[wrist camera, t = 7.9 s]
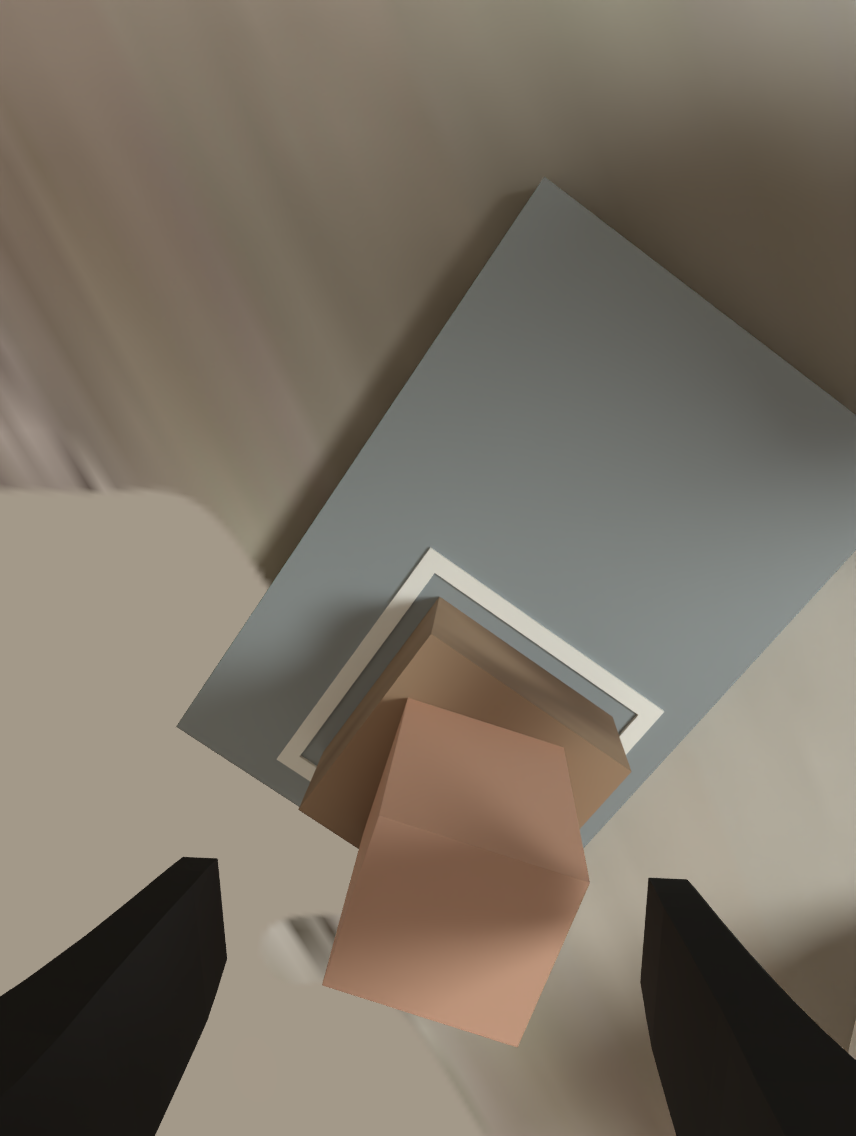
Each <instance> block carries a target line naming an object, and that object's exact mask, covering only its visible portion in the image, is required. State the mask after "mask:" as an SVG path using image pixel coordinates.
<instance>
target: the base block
mask: <svg viewBox="0 0 856 1136" xmlns="http://www.w3.org/2000/svg"><path fill="white" fill-rule="evenodd" d="M408 698H411V699H414V700H417V701H420V702H423V703H426V704H429V705H433V706H436V707H439V708H442V709H445V710H448V711H451V712H454V713H458V714H461V715H464V716H467V717H470V718H473V719H476V720H479V721H483V722H486V723H489V724H492V725H495V726H498V727H501V728H504V729H508V730H511V731H514V732H517V733H520V734H523V735H526V736H529V737H533V738H536V739H539V740H542V741H545V742H548V743H551V744H554V745H558V746H561V747H564V751H565V756H566V761H567V766H568V772H569V777H570V782H571V787H572V792H573V798H574V803H575V808H576V813H577V818H578V824H579V829H580V828H581V827H582V826H583V825H584V824H585V823H586V822H587V821H588V819H589V818H590V817H591V816H592V815H593V814H594V813H595V812H596V811H597V809H598V808H599V807H600V806H601V805H602V804H603V803H604V802H605V801H606V799H607V798H608V797H609V796H610V795H611V794H612V793H613V792H614V791H615V790H616V788H617V787H618V786H619V785H620V784H621V783H622V782H623V781H624V780H625V778H626V777H627V776H628V775H629V774H630V773H631V769H630V766H629V763H628V760H627V757H626V754H625V751H624V748H623V746H622V743H621V740H620V737H619V734H618V731H617V728H616V725H615V722H614V720H613V717H612V716H611V715H609V714H608V713H607V712H605V711H604V710H602V709H601V708H599V707H598V706H597V705H595V704H594V703H592V702H591V701H589V700H588V699H586V698H585V697H584V696H582V695H581V694H579V693H578V692H576V691H575V690H573V689H572V688H571V687H569V686H568V685H566V684H565V683H563V682H562V681H561V680H559V679H558V678H556V677H555V676H553V675H552V674H550V673H549V672H548V671H546V670H545V669H543V668H542V667H540V666H539V665H538V664H536V663H535V662H533V661H532V660H530V659H529V658H527V657H526V656H525V655H523V654H522V653H520V652H519V651H517V650H516V649H514V648H513V647H512V646H510V645H509V644H507V643H506V642H504V641H503V640H502V639H500V638H499V637H497V636H496V635H494V634H493V633H491V632H490V631H489V630H487V629H486V628H484V627H483V626H481V625H480V624H479V623H477V622H476V621H474V620H473V619H471V618H470V617H468V616H467V615H466V614H464V613H463V612H461V611H460V610H458V609H457V608H455V607H454V606H453V605H451V604H450V603H448V602H447V601H445V600H444V599H443V598H441V597H440V596H439V598H438V599H437V600H436V602H435V603H434V604H433V606H432V607H431V608H430V610H429V611H428V612H427V614H426V615H425V616H424V618H423V619H422V620H421V622H420V623H419V624H418V626H417V627H416V629H415V630H414V631H413V633H412V634H411V635H410V637H409V638H408V639H407V641H406V642H405V643H404V645H403V646H402V647H401V649H400V650H399V651H398V653H397V654H396V655H395V657H394V658H393V659H392V661H391V662H390V663H389V665H388V666H387V667H386V669H385V670H384V671H383V673H382V674H381V675H380V677H379V678H378V679H377V681H376V682H375V683H374V685H373V686H372V687H371V689H370V690H369V691H368V693H367V694H366V695H365V697H364V698H363V699H362V701H361V702H360V703H359V705H358V706H357V707H356V709H355V710H354V711H353V713H352V714H351V715H350V717H349V718H348V719H347V721H346V722H345V724H344V725H343V726H342V728H341V729H340V730H339V732H338V733H337V734H336V736H335V737H334V738H333V740H332V741H331V742H330V744H329V745H328V746H327V748H326V749H325V750H324V752H323V754H322V756H321V758H320V761H319V763H318V765H317V768H316V770H315V772H314V774H313V777H312V779H311V781H310V784H309V786H308V788H307V791H306V793H305V795H304V798H303V800H302V802H301V805H300V807H299V810H300V811H302V812H303V813H304V814H306V815H307V816H309V817H311V818H312V819H314V820H315V821H317V822H318V823H320V824H322V825H323V826H324V827H326V828H327V829H329V830H331V831H332V832H334V833H335V834H337V835H338V836H340V837H341V838H343V839H344V840H346V841H347V842H349V843H351V844H352V845H353V846H355V847H357V848H358V849H359V847H360V843H361V840H362V836H363V832H364V829H365V826H366V823H367V820H368V817H369V814H370V811H371V808H372V805H373V802H374V799H375V796H376V793H377V790H378V787H379V784H380V781H381V778H382V775H383V772H384V769H385V766H386V763H387V760H388V757H389V754H390V751H391V748H392V745H393V742H394V739H395V735H396V732H397V729H398V726H399V723H400V720H401V717H402V714H403V711H404V708H405V705H406V702H407V699H408Z"/></svg>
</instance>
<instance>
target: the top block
mask: <svg viewBox="0 0 856 1136" xmlns="http://www.w3.org/2000/svg"><path fill="white" fill-rule="evenodd" d="M589 884H590V881H589V876H588V871H587V865H586V860H585V855H584V850H583V845H582V839H581V834H580V829H579V824H578V818H577V813H576V808H575V803H574V798H573V792H572V787H571V782H570V777H569V772H568V766H567V761H566V756H565V751H564V747H561V746H558V745H554V744H551V743H548V742H545V741H542V740H539V739H536V738H533V737H529V736H526V735H523V734H520V733H517V732H514V731H511V730H508V729H504V728H501V727H498V726H495V725H492V724H489V723H486V722H483V721H479V720H476V719H473V718H470V717H467V716H464V715H461V714H458V713H454V712H451V711H448V710H445V709H442V708H439V707H436V706H433V705H429V704H426V703H423V702H420V701H417V700H414V699H411V698H408V699H407V702H406V705H405V708H404V711H403V714H402V717H401V720H400V723H399V726H398V729H397V732H396V735H395V739H394V742H393V745H392V748H391V751H390V754H389V757H388V760H387V763H386V766H385V769H384V772H383V775H382V778H381V781H380V784H379V787H378V790H377V793H376V796H375V799H374V802H373V805H372V808H371V811H370V814H369V817H368V820H367V823H366V826H365V829H364V832H363V836H362V840H361V843H360V847H359V851H358V855H357V858H356V862H355V866H354V870H353V873H352V877H351V880H350V884H349V888H348V891H347V895H346V899H345V903H344V906H343V910H342V914H341V917H340V921H339V925H338V928H337V932H336V936H335V940H334V943H333V947H332V951H331V954H330V958H329V962H328V965H327V969H326V973H325V977H324V980H323V984H322V985H323V986H326V987H329V988H333V989H336V990H339V991H342V992H345V993H349V994H351V995H354V996H358V997H361V998H364V999H367V1000H370V1001H373V1002H376V1003H380V1004H383V1005H386V1006H389V1007H392V1008H395V1009H398V1010H402V1011H405V1012H408V1013H411V1014H414V1015H417V1016H421V1017H424V1018H427V1019H430V1020H433V1021H436V1022H439V1023H443V1024H446V1025H449V1026H452V1027H455V1028H458V1029H461V1030H465V1031H468V1032H471V1033H474V1034H477V1035H480V1036H483V1037H487V1038H490V1039H493V1040H496V1041H499V1042H502V1043H505V1044H509V1045H512V1046H515V1047H518V1045H519V1043H520V1040H521V1038H522V1036H523V1034H524V1031H525V1029H526V1027H527V1025H528V1022H529V1020H530V1018H531V1015H532V1013H533V1011H534V1009H535V1006H536V1004H537V1002H538V1000H539V997H540V995H541V993H542V990H543V988H544V986H545V984H546V981H547V979H548V977H549V975H550V972H551V970H552V968H553V965H554V963H555V961H556V959H557V956H558V954H559V952H560V950H561V947H562V945H563V943H564V940H565V938H566V936H567V934H568V931H569V929H570V927H571V925H572V922H573V920H574V918H575V915H576V913H577V911H578V909H579V906H580V904H581V902H582V900H583V897H584V895H585V893H586V890H587V888H588V886H589Z"/></svg>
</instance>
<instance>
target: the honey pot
mask: <svg viewBox="0 0 856 1136" xmlns="http://www.w3.org/2000/svg"><path fill="white" fill-rule="evenodd" d="M848 1054H849V1055H851V1056H852V1057H853V1058H854V1059H855V1060H856V1020H855V1025H854V1029H853V1033H852V1037H851V1042H850V1046H849V1050H848Z"/></svg>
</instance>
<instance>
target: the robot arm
mask: <svg viewBox="0 0 856 1136" xmlns="http://www.w3.org/2000/svg"><path fill="white" fill-rule="evenodd" d="M226 960H227V953H226V943H225V933H224V922H223V912H222V901H221V891H220V879H219V869H218V859H216V858H193V857H182V858H181V859H180V860H179V861H177V862H176V863H175V864H173V865H172V866H171V867H170V868H168V869H167V870H166V871H165V872H163V873H162V874H161V875H160V876H158V877H157V878H156V879H155V880H154V881H152V882H151V883H150V884H149V885H148V886H147V887H145V888H144V889H143V890H142V891H140V892H139V893H138V894H137V895H135V896H134V897H133V898H132V899H131V900H129V901H128V902H127V903H126V904H124V905H123V906H122V907H121V908H119V909H118V910H117V911H116V912H114V913H113V914H112V915H111V916H109V917H108V918H107V919H106V920H104V921H103V922H102V923H101V924H100V925H98V926H97V927H96V928H94V929H93V930H92V931H91V932H89V933H88V934H87V935H86V936H84V937H83V938H82V939H80V940H79V941H78V942H77V943H75V944H73V945H72V946H71V947H69V948H68V949H67V950H65V951H64V952H63V953H61V954H60V955H59V956H57V957H56V958H54V959H53V960H52V961H50V962H49V963H48V964H46V965H45V966H44V967H42V968H41V969H40V970H38V971H37V972H35V973H34V974H33V975H31V976H30V977H28V978H27V979H26V980H24V981H23V982H21V983H20V984H18V985H17V986H15V987H14V988H12V989H11V990H9V991H8V992H6V993H5V994H3V995H2V996H0V1136H155V1134H156V1132H157V1130H158V1128H159V1126H160V1123H161V1121H162V1119H163V1117H164V1115H165V1112H166V1110H167V1108H168V1106H169V1104H170V1101H171V1099H172V1097H173V1095H174V1092H175V1090H176V1089H177V1086H178V1084H179V1082H180V1080H181V1078H182V1075H183V1073H184V1071H185V1069H186V1067H187V1064H188V1062H189V1060H190V1058H191V1056H192V1053H193V1051H194V1049H195V1047H196V1045H197V1042H198V1040H199V1038H200V1035H201V1033H202V1031H203V1029H204V1027H205V1024H206V1022H207V1020H208V1017H209V1014H210V1011H211V1007H212V1005H213V1002H214V999H215V996H216V993H217V990H218V986H219V983H220V980H221V977H222V973H223V970H224V967H225V964H226ZM640 982H641V988H642V994H643V1000H644V1006H645V1013H646V1019H647V1024H648V1030H649V1035H650V1041H651V1047H652V1051H653V1054H654V1058H655V1062H656V1065H657V1069H658V1072H659V1076H660V1079H661V1083H662V1087H663V1090H664V1094H665V1097H666V1101H667V1104H668V1108H669V1111H670V1115H671V1118H672V1122H673V1125H674V1129H675V1132H676V1136H856V1060H855V1059H854V1058H853V1057H852V1056H851V1055H849V1054H848V1053H847V1052H846V1051H845V1050H844V1049H843V1048H841V1047H840V1046H839V1045H838V1044H837V1043H836V1042H835V1041H834V1040H833V1039H832V1038H831V1037H830V1036H829V1035H827V1034H826V1033H825V1032H824V1031H823V1030H822V1029H821V1028H820V1027H819V1026H818V1025H817V1024H816V1023H815V1022H814V1021H813V1020H812V1019H811V1018H810V1017H809V1016H808V1015H807V1014H806V1013H805V1012H804V1011H803V1010H802V1009H801V1008H800V1007H799V1006H798V1005H797V1004H796V1003H795V1002H794V1001H793V1000H792V999H791V998H790V997H789V996H788V995H787V994H786V993H785V991H784V990H783V989H782V988H781V987H780V986H779V985H778V984H777V983H776V982H775V981H774V980H773V979H772V977H771V976H770V975H769V974H768V973H767V972H766V971H765V970H764V969H763V968H762V966H761V965H760V964H759V963H758V962H757V961H756V960H755V959H754V958H753V957H752V955H751V954H750V953H749V952H748V951H747V950H746V949H745V947H744V946H743V945H742V944H741V943H740V942H739V941H738V939H737V938H736V937H735V936H734V935H733V933H732V932H731V931H730V930H729V929H728V928H727V926H726V925H725V924H724V923H723V922H722V920H721V919H720V918H719V917H718V916H717V914H716V913H715V912H714V911H713V910H712V908H711V907H710V906H709V905H708V903H707V902H706V901H705V900H704V899H703V897H702V896H701V895H700V894H699V892H698V891H697V890H696V889H695V888H694V886H693V885H692V884H691V883H690V882H689V881H688V880H686V879H664V878H649V879H648V892H647V905H646V918H645V930H644V943H643V956H642V969H641V981H640Z"/></svg>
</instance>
